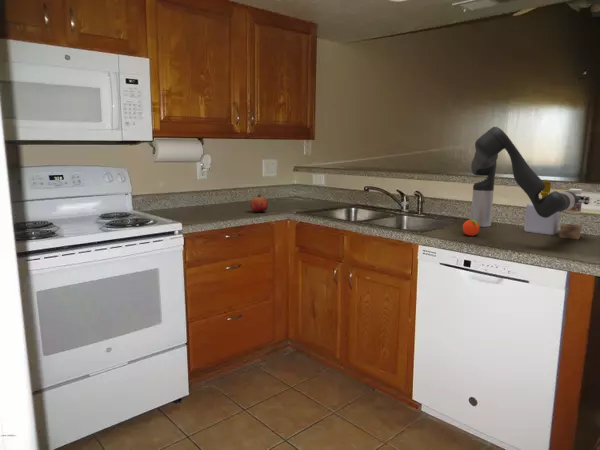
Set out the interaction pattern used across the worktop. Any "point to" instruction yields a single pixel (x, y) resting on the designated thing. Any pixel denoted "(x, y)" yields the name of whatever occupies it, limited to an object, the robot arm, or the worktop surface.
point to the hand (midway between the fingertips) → (576, 197)
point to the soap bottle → (539, 223)
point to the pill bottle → (578, 207)
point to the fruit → (259, 204)
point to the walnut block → (570, 231)
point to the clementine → (471, 227)
